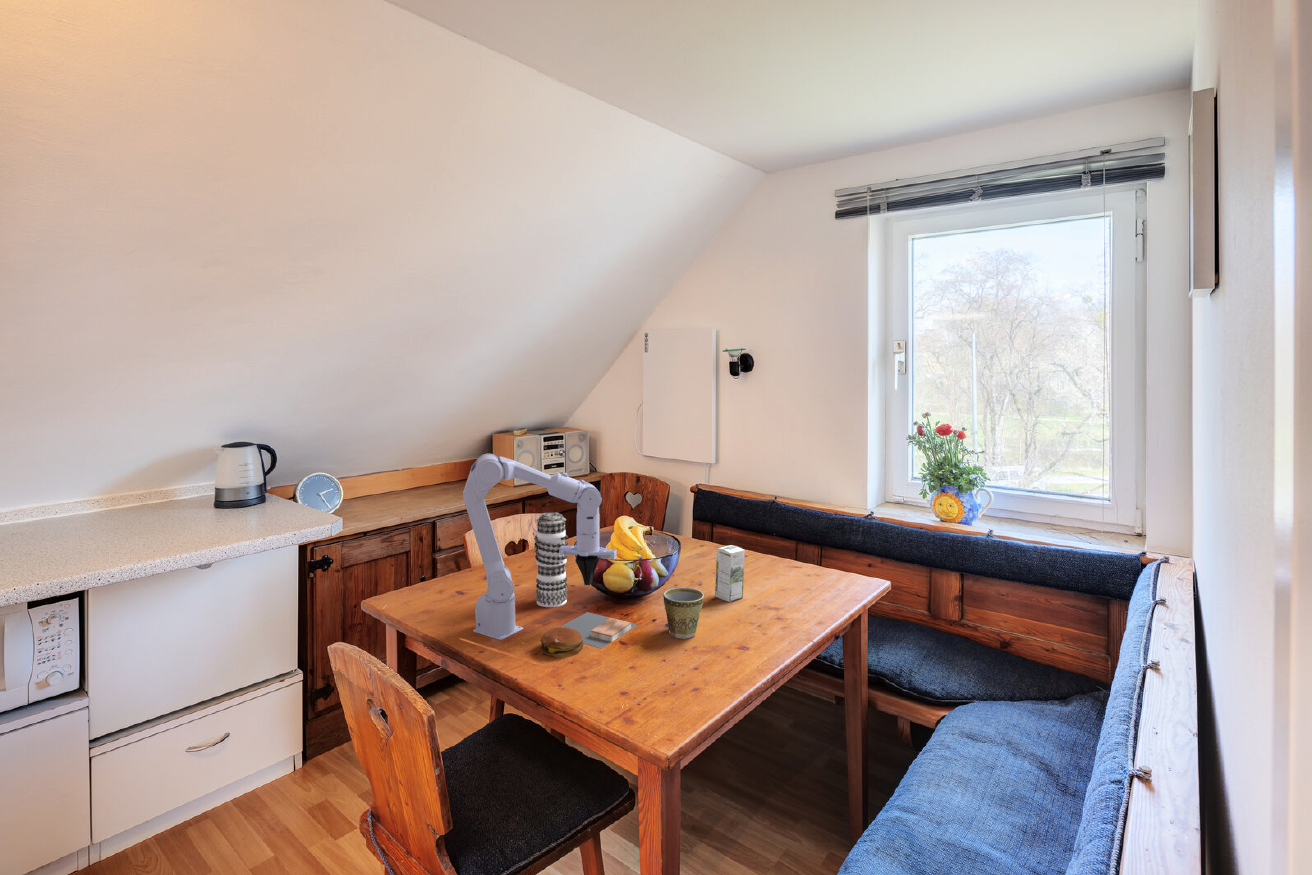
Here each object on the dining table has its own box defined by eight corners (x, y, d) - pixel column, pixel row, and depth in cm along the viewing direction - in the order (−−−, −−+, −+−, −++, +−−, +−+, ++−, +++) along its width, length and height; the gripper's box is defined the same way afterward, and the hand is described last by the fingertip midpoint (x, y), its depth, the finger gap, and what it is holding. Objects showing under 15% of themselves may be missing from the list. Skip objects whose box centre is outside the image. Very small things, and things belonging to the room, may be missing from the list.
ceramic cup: (700, 643, 160) (700, 603, 159) (659, 639, 162) (659, 599, 161) (706, 622, 172) (707, 585, 171) (668, 618, 174) (669, 582, 173)
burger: (580, 640, 161) (580, 622, 160) (585, 657, 152) (585, 638, 151) (539, 644, 159) (538, 625, 158) (541, 662, 150) (541, 642, 149)
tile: (610, 617, 170) (631, 622, 167) (610, 623, 170) (630, 628, 167) (590, 630, 162) (612, 635, 159) (590, 636, 162) (612, 641, 159)
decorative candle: (557, 594, 191) (556, 508, 188) (574, 603, 184) (574, 515, 181) (528, 601, 186) (527, 513, 182) (545, 611, 178) (545, 520, 175)
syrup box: (728, 592, 194) (729, 544, 192) (743, 598, 190) (745, 548, 188) (714, 596, 190) (715, 547, 189) (729, 602, 186) (731, 552, 184)
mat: (548, 634, 164) (548, 633, 164) (587, 613, 177) (587, 611, 177) (601, 650, 156) (601, 648, 156) (638, 626, 169) (638, 624, 169)
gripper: (554, 533, 166) (555, 586, 168) (610, 538, 163) (610, 591, 164) (565, 526, 173) (565, 577, 175) (619, 530, 169) (619, 582, 171)
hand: (588, 583), depth 170 cm, fingers closed
